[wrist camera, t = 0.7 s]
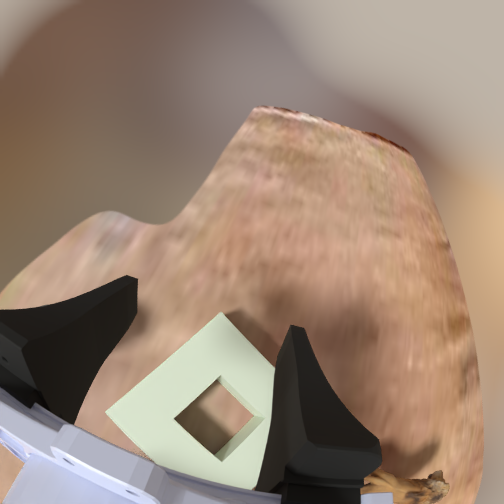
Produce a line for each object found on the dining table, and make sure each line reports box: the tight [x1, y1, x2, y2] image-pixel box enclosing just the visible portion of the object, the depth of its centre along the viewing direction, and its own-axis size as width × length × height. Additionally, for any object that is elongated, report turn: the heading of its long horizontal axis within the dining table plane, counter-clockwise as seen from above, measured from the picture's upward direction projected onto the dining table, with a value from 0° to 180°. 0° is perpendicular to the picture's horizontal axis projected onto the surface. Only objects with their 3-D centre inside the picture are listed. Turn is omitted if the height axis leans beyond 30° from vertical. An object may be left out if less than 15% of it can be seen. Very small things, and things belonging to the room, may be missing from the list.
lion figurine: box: [360, 468, 450, 504], centre depth 22 cm, size 15×5×9 cm, turn 68°
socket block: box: [105, 312, 275, 490], centre depth 24 cm, size 14×14×3 cm
